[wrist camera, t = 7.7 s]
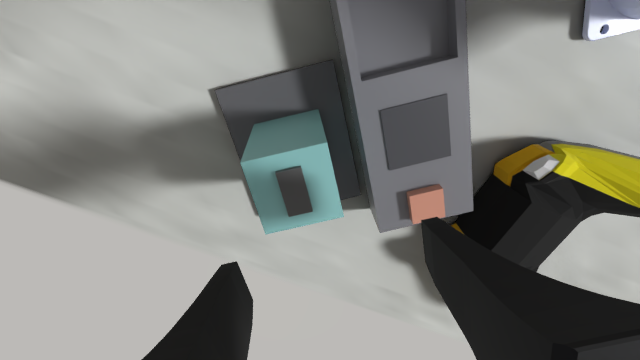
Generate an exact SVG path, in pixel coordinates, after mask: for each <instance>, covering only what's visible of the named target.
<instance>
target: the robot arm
mask: <svg viewBox="0 0 640 360" xmlns="http://www.w3.org/2000/svg"><path fill="white" fill-rule="evenodd" d="M602 26H603V31H602V32H601V33H600V29H601V27H602ZM639 29H640V0H586V3H585V13H584V23H583V32H582V35H583V38H584V39H585V40H587V41H595V40H599V39H603V38H607V37H611V36H615V35H619V34H623V33H627V32H631V31H635V30H639ZM421 225H422V234H423V244H424V253H425V262H426V265H427V267H428V269H429V272H430V274H431V276H432V279H433V281H434V283H435V286H436V287H437V289H438V291H439V293H440V294H441V296H442V298H443V299H444V301H445V303H446V305H447V306H448V308H449V310H450V311H451V313H452V315H453V317H454V318H455V320H456V322H457V323H458V325H459V327H460V328H461V330H462V332H463V334H464V335H465V337H466V339H467V341H468V343H469V345H470V346H471V348H472V350H473V352H474V355H475V357H476V359H477V360H640V304H637V303H633V302H629V301H625V300H620V299H616V298H612V297H608V296H604V295H601V294H598V293H594V292H591V291H587V290H584V289H581V288H578V287H575V286H572V285H568V284H566V283H563V282H560V281H557V280H555V279H552V278H549V277H546V276H544V275H541V274H539V273H536V272H534V271H532V270H529V269H527V268H525V267H523V266H520V265H518V264H516V263H514V262H512V261H510V260H508V259H506V258H504V257H502V256H500V255H498V254H496V253H494V252H492V251H491V250H489V249H487V248H485V247H483V246H482V245H480V244H478V243H477V242H475V241H474V240H472V239H470V238H469V237H467V236H466V235H464V234H462V233H461V232H459V231H458V230H456V229H455V228H453V227H452V226H450V225H449V224H447V223H446V222H444V221H443V220H441V219H440V218H438V217H433V218H429V219H424V220H421ZM252 319H253V299H252V296H251V294H250V292H249V289H248V287H247V284H246V283H245V280H244V277H243V275H242V273H241V270H240V268H239V265H238V263H237V261H236V262H232V263H227V264H224V265H221V266H220V267H219V269H218V270H217V271H216V273H215V274H214V275H213V277H212V278H211V279H210V281H209V282H208V284H207V285H206V286H205V288H204V289H203V290H202V292H201V293H200V294H199V296H198V297H197V298H196V300H195V301H194V303H193V304H192V305H191V306H190V307H189V309H188V310H187V311H186V312H185V313H184V315H183V316H182V317H181V318H180V319H179V321H178V322H177V323H176V324H175V325H174V327H173V328H172V329H171V330H170V331H169V332H168V333H167V335H166V336H165V337H164V338H163V339H162V340H161V341H160V342H159V343H158V344H157V345H156V346H155V347H154V348H153V349H152V350H151V351H150V352H149V353H148V354H147V355H146V356H145V357H144V358H143V359H142V360H247V356H248V350H249V343H250V337H251V330H252Z"/></svg>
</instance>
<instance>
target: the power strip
mask: <svg viewBox="0 0 640 360" xmlns="http://www.w3.org/2000/svg"><path fill="white" fill-rule="evenodd" d="M330 5H331V10H332V15H333V20H334V26H335V31H336V36H337V41H338V46H339V51H340V56H341V61H342V66H343V72H344V77H345V82H346V87H347V92H348V97H349V102H350V107H351V112H352V118H353V123H354V128H355V133H356V138H357V143H358V148H359V153H360V158H361V164H362V169H363V174H364V179H365V184H366V189H367V194H368V199H369V204H370V209H371V212H372V214H373V217H374V219H375V222H376V224H377V227H378V229H379V232H380V233H382V232H386V231H390V230H394V229H399V228H403V227H407V226H412V225H416V224H420V223H421V220H424V219H429V218H433V217H438V218H440V219H441V218H446V217H450V216H454V215H458V214H463V213H467V212H471V211H473V184H472V157H471V130H470V103H469V76H468V49H467V22H466V0H330Z"/></svg>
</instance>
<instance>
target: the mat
mask: <svg viewBox="0 0 640 360" xmlns="http://www.w3.org/2000/svg"><path fill="white" fill-rule="evenodd" d="M215 93H216V95H217V98H218V101H219V103H220V106H221V109H222V112H223V114H224V117H225V120H226V122H227V125H228V128H229V131H230V133H231V136H232V139H233V141H234V144H235V147H236V150H237V152H238V155H239V158H240V160H241V159H242V156H243V153H244V151H245V148H246V145H247V142H248V140H249V137H250V134H251V131H252V128H253V126H254V124H257V123H261V122H266V121H270V120H274V119H278V118H282V117H287V116H291V115H295V114H299V113H303V112H308V111H312V110H316V109H318V110H319V113H320V117H321V121H322V125H323V128H324V132H325V136H326V140H327V143H328V148H329V152H330V157H331V161H332V166H333V170H334V175H335V179H336V184H337V188H338V192H339V197H340V200H343V199H347V198H351V197H355V196H360V195H361V194H360V189H359V184H358V179H357V174H356V169H355V164H354V160H353V155H352V150H351V145H350V140H349V135H348V131H347V126H346V121H345V116H344V111H343V106H342V101H341V97H340V92H339V87H338V82H337V77H336V72H335V67H334V63H333V60H329V61H325V62H321V63H317V64H313V65H309V66H306V67H302V68H298V69H294V70H290V71H286V72H282V73H278V74H274V75H270V76H266V77H262V78H259V79H255V80H251V81H247V82H243V83H239V84H235V85H231V86H227V87H223V88H219V89H216V90H215Z"/></svg>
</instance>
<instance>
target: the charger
mask: <svg viewBox="0 0 640 360" xmlns="http://www.w3.org/2000/svg"><path fill="white" fill-rule="evenodd" d="M240 164H241V166H242V169H243V172H244V175H245V178H246V181H247V183H248V186H249V189H250V192H251V195H252V197H253V200H254V203H255V206H256V209H257V211H258V214H259V217H260V220H261V223H262V225H263V228H264V231H265V234H270V233H274V232H279V231H283V230H288V229H292V228H296V227H301V226H305V225H310V224H314V223H318V222H323V221H327V220H332V219H336V218H340V217H344V215H343V210H342V206H341V201H340V197H339V192H338V188H337V184H336V179H335V175H334V170H333V166H332V161H331V157H330V152H329V148H328V143H327V140H326V136H325V132H324V128H323V125H322V121H321V117H320V113H319V110H318V109H316V110H312V111H308V112H303V113H299V114H295V115H291V116H287V117H282V118H278V119H274V120H270V121H266V122H261V123H257V124H254V126H253V128H252V131H251V134H250V137H249V140H248V142H247V145H246V148H245V151H244V153H243V156H242V159H241V162H240Z"/></svg>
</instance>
